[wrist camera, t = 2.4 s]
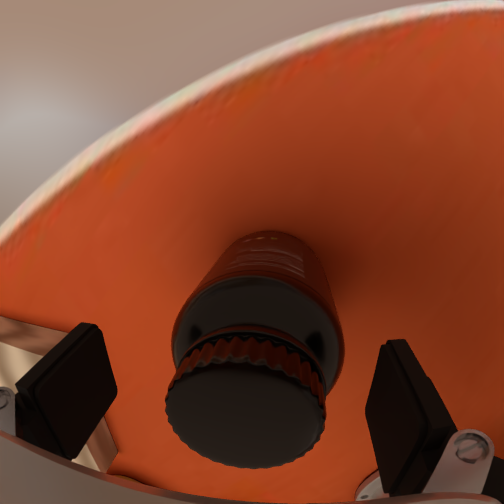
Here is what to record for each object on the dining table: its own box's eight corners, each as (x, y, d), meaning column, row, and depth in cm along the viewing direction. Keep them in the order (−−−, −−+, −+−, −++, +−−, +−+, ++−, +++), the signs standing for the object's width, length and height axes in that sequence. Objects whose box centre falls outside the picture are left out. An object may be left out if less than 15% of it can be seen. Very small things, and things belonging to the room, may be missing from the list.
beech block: (78, 335, 23) (51, 358, 19) (118, 452, 27) (103, 477, 23) (-17, 311, 24) (-41, 325, 21) (24, 415, 28) (7, 432, 24)
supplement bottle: (194, 283, 20) (98, 403, 9) (267, 205, 18) (230, 265, 7) (271, 350, 21) (249, 502, 9) (347, 282, 19) (405, 419, 8)
